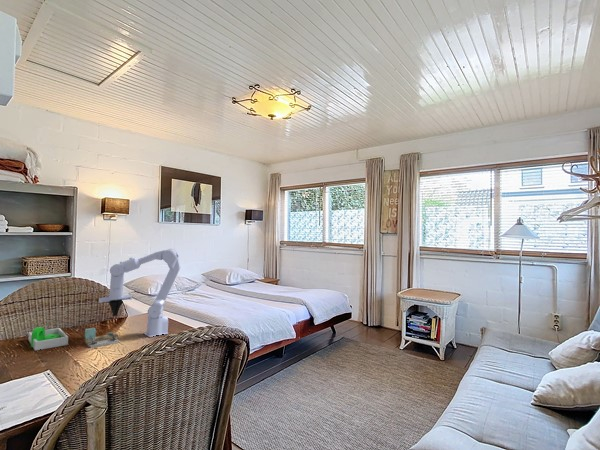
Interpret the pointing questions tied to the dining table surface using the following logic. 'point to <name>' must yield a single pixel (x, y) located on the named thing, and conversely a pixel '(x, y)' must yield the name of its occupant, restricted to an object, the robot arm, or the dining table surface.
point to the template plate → (102, 342)
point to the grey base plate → (103, 337)
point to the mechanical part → (41, 335)
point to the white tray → (51, 342)
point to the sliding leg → (90, 334)
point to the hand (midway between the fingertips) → (114, 315)
